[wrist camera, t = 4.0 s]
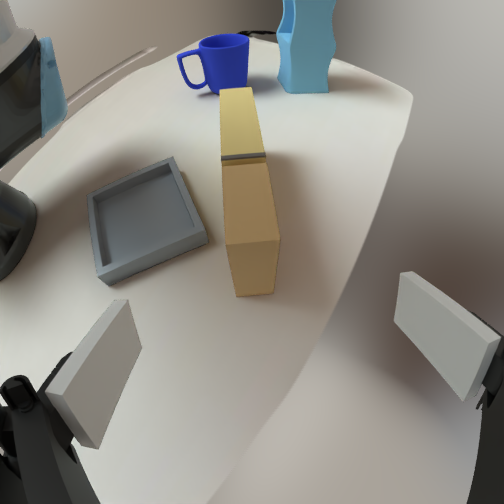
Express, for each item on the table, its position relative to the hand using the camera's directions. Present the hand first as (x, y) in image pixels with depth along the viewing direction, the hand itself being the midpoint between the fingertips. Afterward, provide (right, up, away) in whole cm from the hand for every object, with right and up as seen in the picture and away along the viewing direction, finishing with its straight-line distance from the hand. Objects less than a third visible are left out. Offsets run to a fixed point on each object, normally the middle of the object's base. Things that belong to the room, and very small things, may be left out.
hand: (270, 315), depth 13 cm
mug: (-7, +31, +32) cm, 45 cm away
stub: (-1, +2, +16) cm, 16 cm away
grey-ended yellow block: (-2, +11, +21) cm, 23 cm away
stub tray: (-13, +6, +19) cm, 24 cm away
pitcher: (+8, +34, +33) cm, 48 cm away
